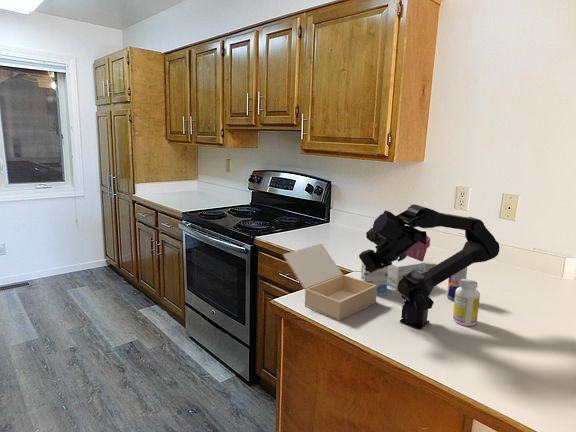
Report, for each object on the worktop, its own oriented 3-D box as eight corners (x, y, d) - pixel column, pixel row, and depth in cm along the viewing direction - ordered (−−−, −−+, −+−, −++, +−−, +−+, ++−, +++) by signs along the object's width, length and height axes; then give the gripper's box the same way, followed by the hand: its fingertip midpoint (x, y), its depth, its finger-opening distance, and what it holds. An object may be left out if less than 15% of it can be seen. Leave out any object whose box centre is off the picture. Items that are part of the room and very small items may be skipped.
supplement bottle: (473, 318, 119) (478, 278, 117) (479, 328, 113) (484, 286, 111) (450, 315, 121) (454, 276, 118) (454, 325, 115) (459, 284, 112)
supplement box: (424, 286, 145) (426, 262, 143) (396, 291, 140) (398, 267, 138) (394, 272, 160) (396, 250, 158) (368, 276, 155) (369, 253, 153)
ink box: (382, 286, 144) (384, 248, 141) (386, 292, 139) (389, 252, 136) (359, 287, 143) (362, 248, 140) (363, 292, 138) (366, 252, 135)
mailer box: (376, 302, 130) (377, 285, 128) (339, 321, 116) (339, 302, 115) (342, 290, 139) (343, 274, 138) (304, 306, 126) (305, 289, 124)
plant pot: (416, 272, 160) (419, 242, 157) (387, 263, 170) (389, 235, 168) (433, 265, 169) (436, 236, 167) (405, 257, 180) (407, 230, 177)
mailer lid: (321, 243, 144) (321, 244, 144) (283, 253, 130) (282, 254, 130) (343, 274, 138) (342, 275, 139) (305, 288, 124) (304, 289, 125)
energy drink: (443, 297, 135) (446, 264, 133) (454, 294, 137) (458, 262, 135) (455, 303, 130) (459, 269, 128) (467, 300, 132) (471, 267, 130)
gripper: (400, 216, 120) (368, 243, 130) (366, 224, 107) (333, 254, 117) (422, 245, 116) (387, 271, 126) (389, 258, 104) (353, 285, 113)
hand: (366, 269), depth 121 cm, fingers closed
